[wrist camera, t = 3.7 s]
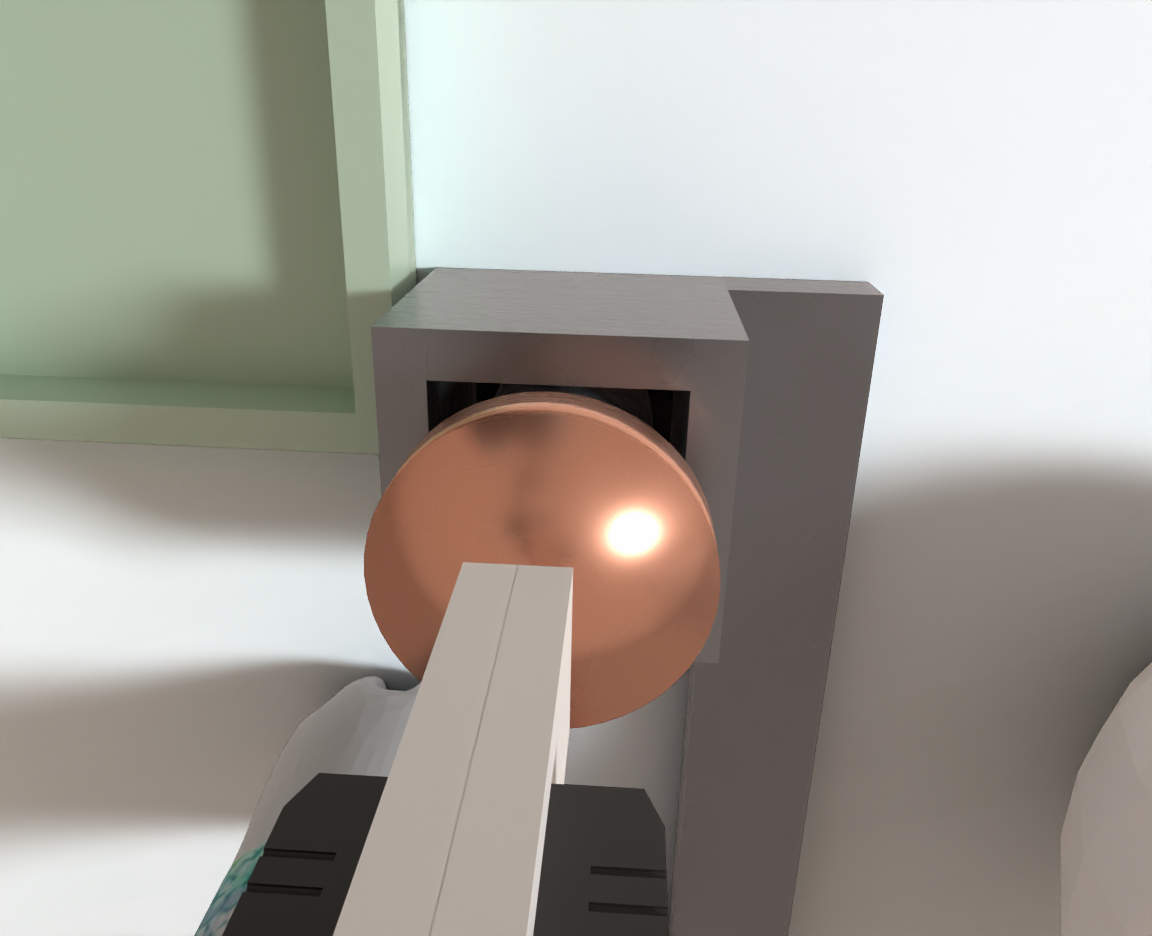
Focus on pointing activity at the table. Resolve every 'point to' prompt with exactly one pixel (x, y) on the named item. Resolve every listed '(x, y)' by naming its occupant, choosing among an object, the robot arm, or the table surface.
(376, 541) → the plunger
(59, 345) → the tray
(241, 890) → the bottle
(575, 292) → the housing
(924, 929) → the table surface
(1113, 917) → the vase
